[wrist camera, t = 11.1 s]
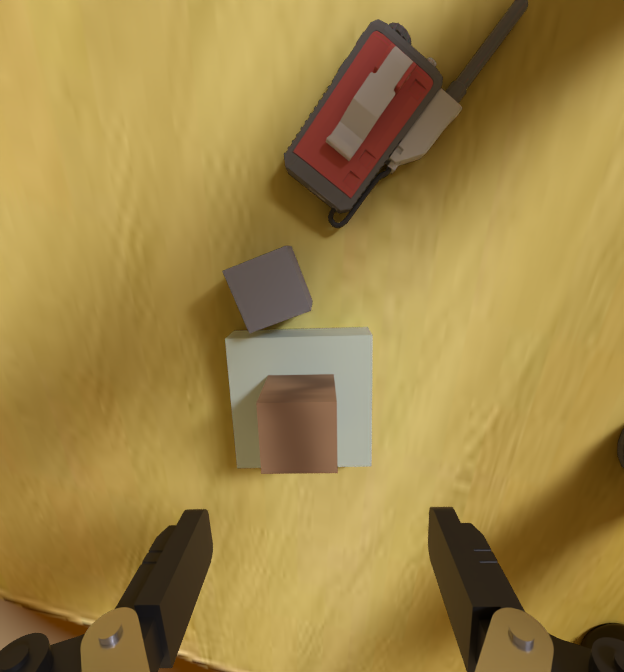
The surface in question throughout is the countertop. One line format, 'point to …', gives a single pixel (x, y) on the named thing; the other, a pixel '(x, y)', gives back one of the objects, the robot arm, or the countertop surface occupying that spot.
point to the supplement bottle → (603, 634)
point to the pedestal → (303, 359)
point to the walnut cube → (298, 424)
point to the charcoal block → (269, 289)
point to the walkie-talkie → (380, 114)
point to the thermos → (621, 449)
